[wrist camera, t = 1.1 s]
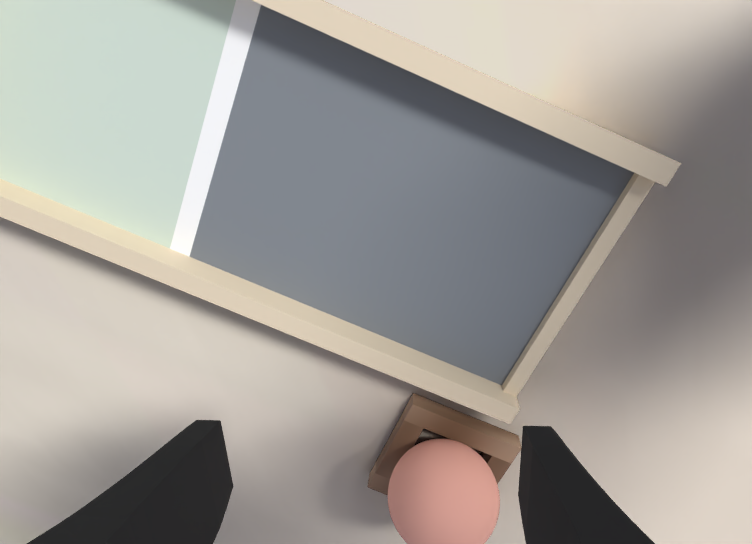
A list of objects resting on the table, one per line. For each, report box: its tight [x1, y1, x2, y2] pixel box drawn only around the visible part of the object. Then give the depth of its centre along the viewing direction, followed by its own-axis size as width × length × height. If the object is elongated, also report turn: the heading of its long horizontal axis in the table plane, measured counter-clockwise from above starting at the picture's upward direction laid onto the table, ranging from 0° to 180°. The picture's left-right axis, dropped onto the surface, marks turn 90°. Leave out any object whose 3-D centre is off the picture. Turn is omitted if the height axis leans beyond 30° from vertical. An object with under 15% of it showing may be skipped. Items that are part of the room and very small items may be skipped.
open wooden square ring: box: [368, 393, 522, 495], centre depth 23 cm, size 5×5×1 cm
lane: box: [0, 0, 681, 424], centre depth 17 cm, size 24×11×4 cm, turn 67°
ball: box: [388, 439, 500, 544], centre depth 21 cm, size 4×4×4 cm
